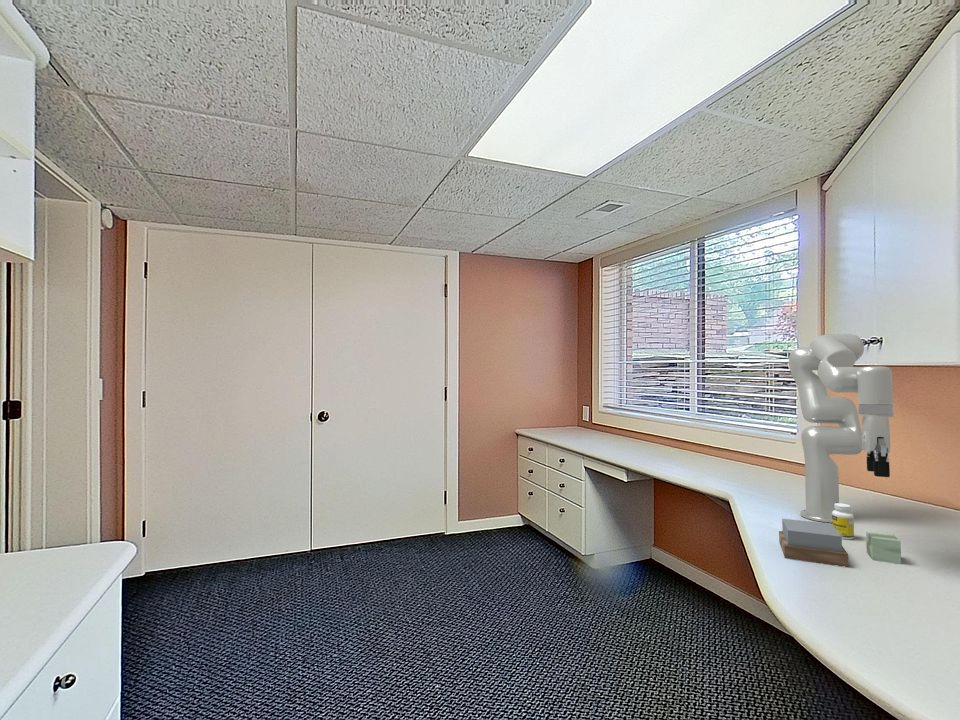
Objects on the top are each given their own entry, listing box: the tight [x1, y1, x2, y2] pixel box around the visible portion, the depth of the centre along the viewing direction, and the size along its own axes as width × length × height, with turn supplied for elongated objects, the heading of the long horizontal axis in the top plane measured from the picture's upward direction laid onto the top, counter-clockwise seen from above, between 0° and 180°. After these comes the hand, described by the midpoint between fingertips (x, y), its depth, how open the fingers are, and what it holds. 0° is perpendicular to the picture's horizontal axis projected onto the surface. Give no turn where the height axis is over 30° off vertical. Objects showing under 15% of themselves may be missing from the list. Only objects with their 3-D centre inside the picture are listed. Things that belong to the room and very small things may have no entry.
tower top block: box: [781, 518, 843, 552], centre depth 136 cm, size 12×12×4 cm
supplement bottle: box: [831, 502, 855, 541], centre depth 150 cm, size 5×5×10 cm
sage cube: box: [865, 530, 902, 565], centre depth 133 cm, size 6×6×6 cm
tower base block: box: [778, 530, 849, 568], centre depth 136 cm, size 14×14×4 cm
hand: (878, 473), depth 134 cm, fingers open, 9 cm apart
